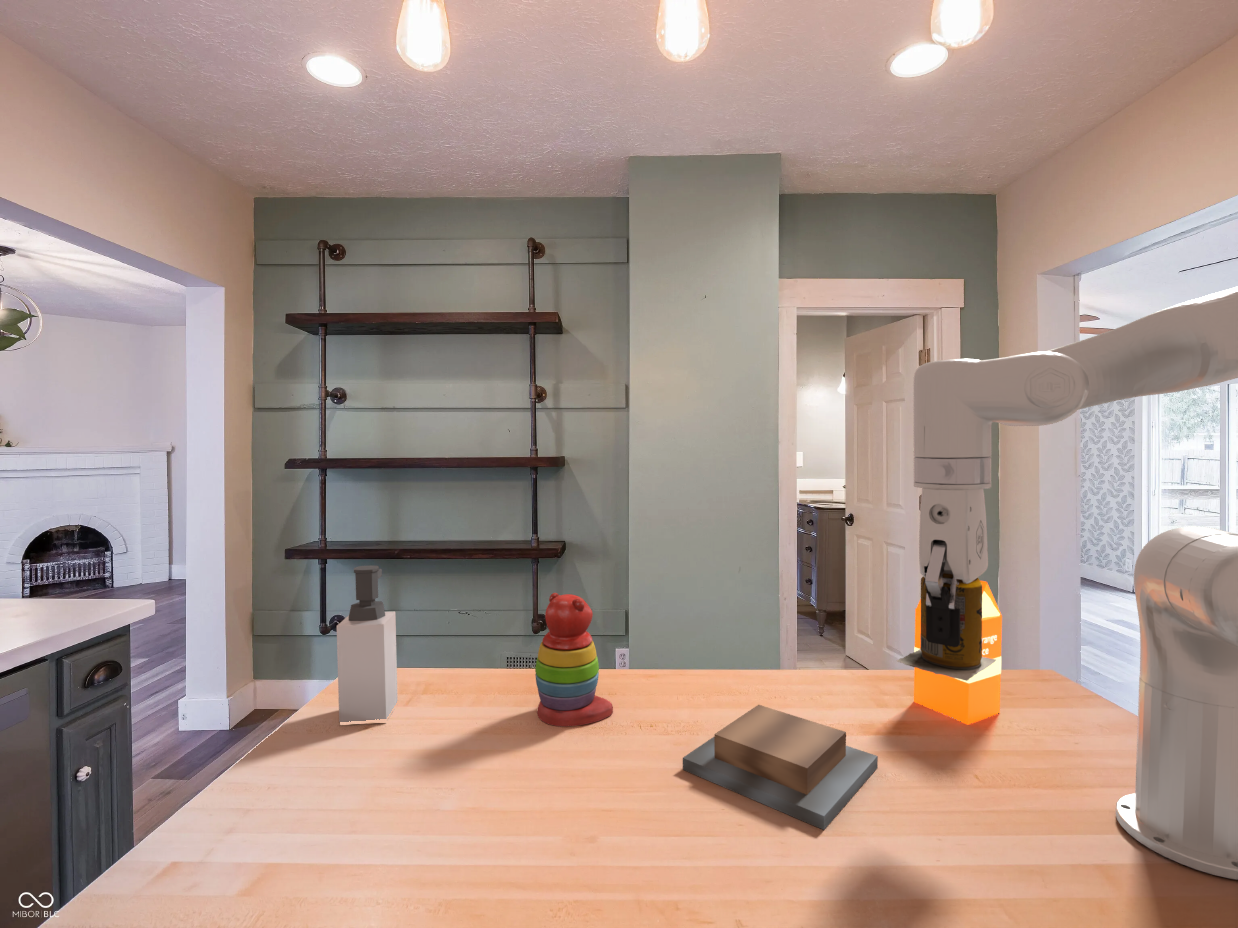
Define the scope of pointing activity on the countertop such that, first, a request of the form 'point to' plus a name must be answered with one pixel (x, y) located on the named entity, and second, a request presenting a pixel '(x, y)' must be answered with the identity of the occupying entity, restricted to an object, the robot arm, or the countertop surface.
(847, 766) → the plinth
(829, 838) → the countertop surface
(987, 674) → the orange juice
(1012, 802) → the countertop surface
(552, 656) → the stacking bear
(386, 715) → the soap dispenser
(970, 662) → the condiment
